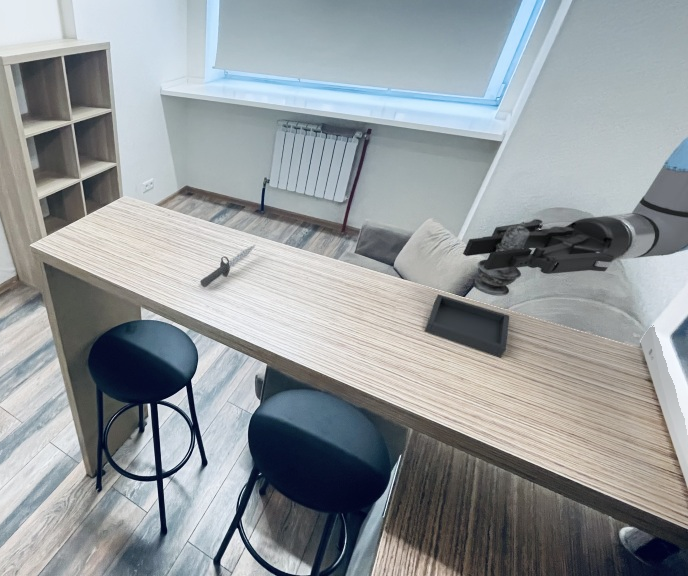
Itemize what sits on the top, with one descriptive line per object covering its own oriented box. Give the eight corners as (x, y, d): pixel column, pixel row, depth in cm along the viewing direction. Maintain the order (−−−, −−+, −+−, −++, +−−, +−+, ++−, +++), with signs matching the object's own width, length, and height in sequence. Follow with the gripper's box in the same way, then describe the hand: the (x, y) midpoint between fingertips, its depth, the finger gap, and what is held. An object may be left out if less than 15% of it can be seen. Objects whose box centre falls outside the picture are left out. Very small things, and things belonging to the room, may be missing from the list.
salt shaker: (517, 298, 66) (556, 232, 59) (476, 294, 67) (510, 228, 60) (502, 278, 70) (536, 215, 63) (464, 275, 71) (494, 212, 65)
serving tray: (504, 324, 75) (509, 315, 74) (500, 357, 68) (506, 348, 67) (434, 302, 81) (438, 294, 80) (424, 331, 74) (428, 322, 73)
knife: (250, 251, 97) (252, 233, 94) (259, 254, 96) (260, 236, 93) (198, 289, 87) (198, 270, 84) (207, 294, 85) (207, 275, 82)
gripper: (644, 286, 62) (511, 304, 59) (546, 236, 76) (433, 249, 73) (678, 243, 58) (537, 260, 55) (567, 198, 71) (448, 210, 68)
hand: (478, 254), depth 64 cm, fingers closed on salt shaker, 3 cm apart
